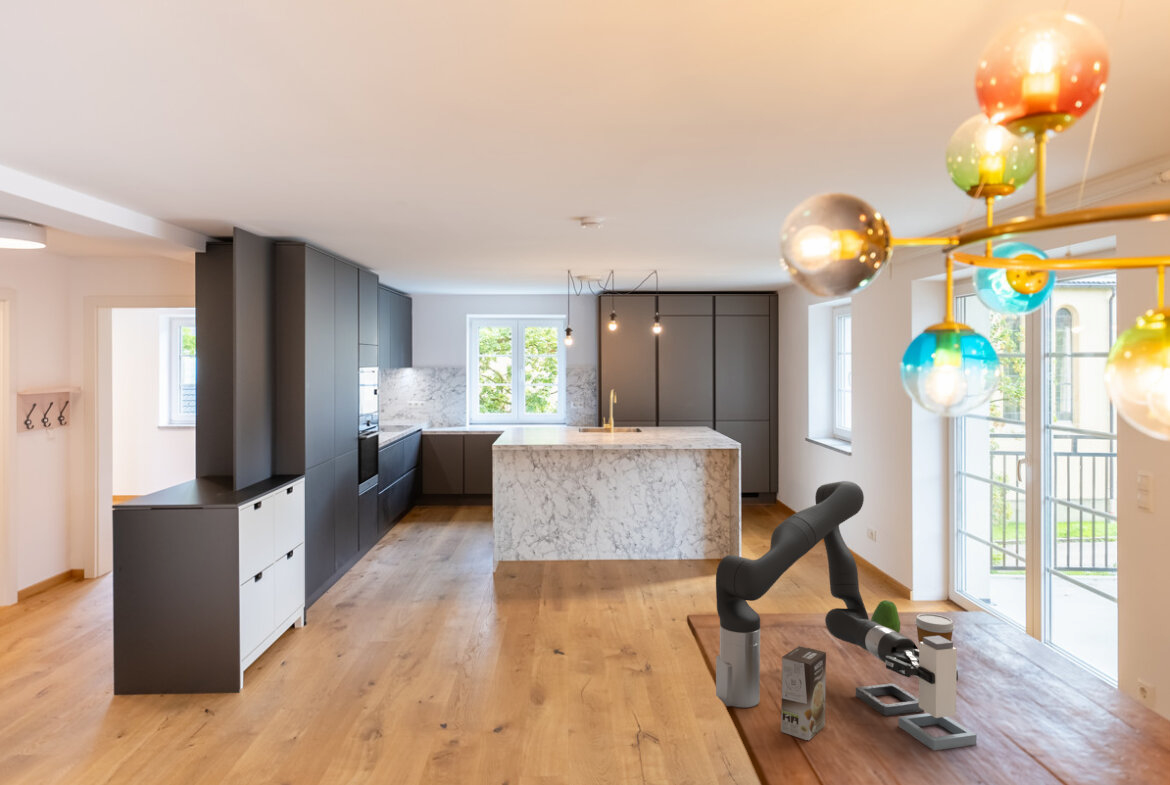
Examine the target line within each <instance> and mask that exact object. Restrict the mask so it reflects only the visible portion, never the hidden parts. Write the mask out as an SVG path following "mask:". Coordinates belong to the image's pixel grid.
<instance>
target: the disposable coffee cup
mask: <svg viewBox="0 0 1170 785" xmlns="http://www.w3.org/2000/svg"><path fill="white" fill-rule="evenodd" d="M914 623H915V626H916V632H917V639H918V640H917V641H918V643H919V642H923V637H930V636H941V637H943V638H945V639H947V640H949V641H951V642H952V639H953V638H952V637H953V632H954V629H955V628H956V626H955V624H954V621H953V620H952V619H951V618H950V617H947V616H944V615H940V614H937V613H936V614H934V613H920V614H917V616H916V618H915V619H914Z"/></svg>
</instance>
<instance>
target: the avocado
mask: <svg viewBox="0 0 1170 785" xmlns="http://www.w3.org/2000/svg"><path fill="white" fill-rule="evenodd" d="M870 620H871V621H874V622H876V623H878V624H880V625H882V626H884V627H887V628H889V629H892V630H894V631H896V632H897V633H899V634H900V632H901V620H900V617H899V612H898V608H897V605H896V604H895V603H894V602H893V601H890V600H882V601H880V602H879V603H878V604H877V606H876V608H875V609H874V610H873V613H872V615H871V617H870Z"/></svg>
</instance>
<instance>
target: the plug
mask: <svg viewBox="0 0 1170 785" xmlns="http://www.w3.org/2000/svg"><path fill="white" fill-rule="evenodd" d="M918 649H919V665H920V667H924V668H925V669H927V670H929V671H931V672H933V673H934V674H935V683H934V684H930V683H929V682H927V681H925V680H923V679H922V678H918V699H919V708H921V709H923V710H924V711H923V712H925V713H929V714H930V715H932V716H933V717H935V718H940V717H954V716H956V715H957V681H956V676H957V671H958V670H957V668H958V667H957V664H958V663H957V662H958V656H957V655H958V650H957V647H954V642H952V640H951V641H949V640H947V639H945V638H943V637H941V636H930V637H923V642H919V641H918Z"/></svg>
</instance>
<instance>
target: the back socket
mask: <svg viewBox="0 0 1170 785" xmlns="http://www.w3.org/2000/svg"><path fill="white" fill-rule="evenodd" d="M886 695H892V696H894V697H896V698H897V699H899V700H901V702H893V703H884V702H883V701H881V700H880V699H878V698H877V697H880V696H886ZM855 697H856V698H858V699H859V700H861V701H862V702H863V703H865V704H867V705H868V706H869V707H871V708H872V709H873V710H876V712H878V713H879V714H881V715H882V716H884V717H889V716H896V715H897V716H898V715H904V714H911V713H919V712H920V713H921V712H925V711H924V710H923V709H921V708H919V697H917V696H915V695H913V694H912V693H910V692H908V691H907V690H905V689H904V688H902V687H900V686H899V685H897V684H895V683H894V682H891V683H884V684H883V683H882V684H873V685H867V686H858V687H857V686H856V687H855Z"/></svg>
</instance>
